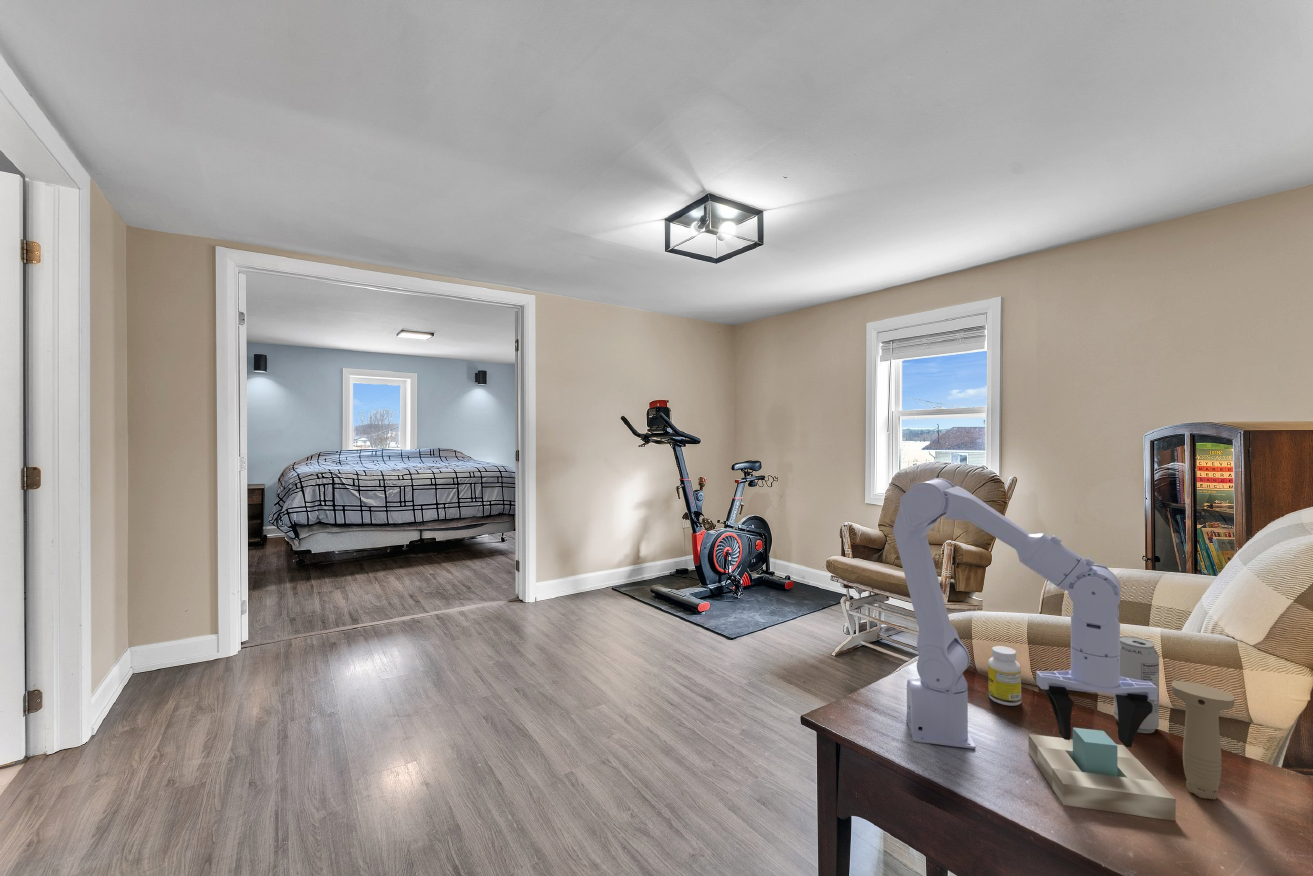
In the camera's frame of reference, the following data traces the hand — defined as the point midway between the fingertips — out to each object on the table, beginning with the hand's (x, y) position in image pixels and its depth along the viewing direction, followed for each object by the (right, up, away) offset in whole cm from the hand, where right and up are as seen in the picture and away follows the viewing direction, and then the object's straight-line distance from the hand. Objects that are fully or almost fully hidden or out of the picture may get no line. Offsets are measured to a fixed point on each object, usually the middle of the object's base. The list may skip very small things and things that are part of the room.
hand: (1094, 740), depth 82 cm
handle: (+13, -7, -3) cm, 15 cm away
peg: (0, -7, 0) cm, 7 cm away
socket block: (0, -7, 0) cm, 7 cm away
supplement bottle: (+3, -6, +25) cm, 26 cm away
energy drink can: (+19, -6, +15) cm, 26 cm away
